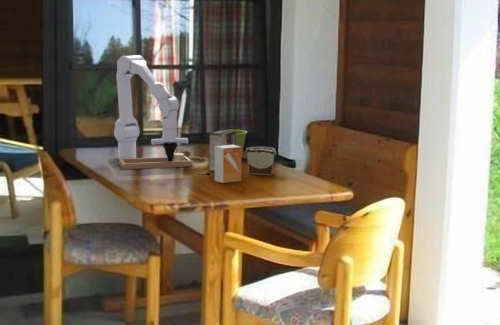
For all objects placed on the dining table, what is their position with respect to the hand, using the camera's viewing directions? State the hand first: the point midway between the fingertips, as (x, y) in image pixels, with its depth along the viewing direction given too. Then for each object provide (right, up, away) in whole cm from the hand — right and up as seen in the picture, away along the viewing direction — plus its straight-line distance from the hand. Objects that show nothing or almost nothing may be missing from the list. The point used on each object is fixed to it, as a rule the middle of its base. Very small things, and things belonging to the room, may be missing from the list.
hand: (169, 161), depth 358 cm
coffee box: (+21, -5, -10) cm, 24 cm away
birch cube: (+3, -1, +1) cm, 4 cm away
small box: (+24, -7, -26) cm, 36 cm away
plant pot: (+25, +1, +25) cm, 35 cm away
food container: (+37, -5, -10) cm, 38 cm away
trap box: (-6, -3, -1) cm, 6 cm away
